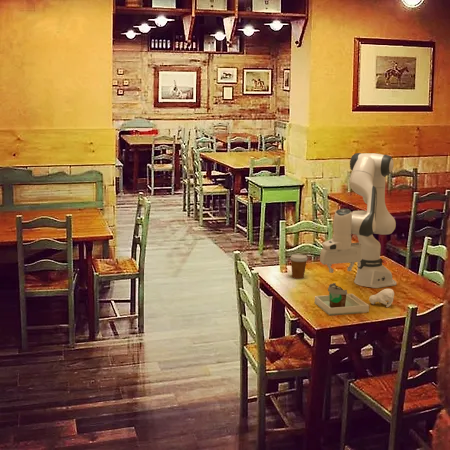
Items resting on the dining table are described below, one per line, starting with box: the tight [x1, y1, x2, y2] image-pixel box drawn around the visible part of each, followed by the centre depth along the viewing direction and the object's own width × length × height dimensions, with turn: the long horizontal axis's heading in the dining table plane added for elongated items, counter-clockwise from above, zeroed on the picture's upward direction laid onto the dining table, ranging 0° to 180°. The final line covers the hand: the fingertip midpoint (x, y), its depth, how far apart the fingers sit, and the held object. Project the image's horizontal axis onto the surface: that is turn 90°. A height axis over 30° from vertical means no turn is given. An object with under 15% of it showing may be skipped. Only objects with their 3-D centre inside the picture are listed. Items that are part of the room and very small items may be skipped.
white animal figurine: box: [368, 288, 395, 308], centre depth 339 cm, size 6×8×12 cm
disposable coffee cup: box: [289, 253, 308, 280], centre depth 381 cm, size 10×10×12 cm
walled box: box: [314, 293, 370, 316], centre depth 334 cm, size 20×18×4 cm
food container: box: [327, 282, 348, 308], centre depth 332 cm, size 12×6×10 cm, turn 19°
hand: (340, 271), depth 330 cm, fingers open, 8 cm apart
